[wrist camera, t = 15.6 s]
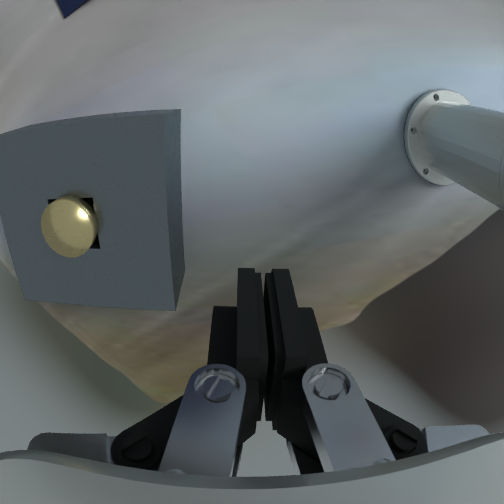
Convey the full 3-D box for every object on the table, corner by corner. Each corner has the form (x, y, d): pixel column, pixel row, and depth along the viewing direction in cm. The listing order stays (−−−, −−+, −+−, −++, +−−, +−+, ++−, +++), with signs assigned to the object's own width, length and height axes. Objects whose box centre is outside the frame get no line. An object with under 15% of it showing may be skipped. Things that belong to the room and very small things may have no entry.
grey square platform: (180, 109, 32) (164, 114, 24) (184, 271, 41) (175, 310, 34) (28, 125, 30) (-11, 137, 23) (51, 266, 40) (25, 299, 32)
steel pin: (120, 172, 34) (87, 199, 26) (124, 220, 37) (97, 258, 29) (76, 174, 34) (36, 201, 25) (82, 220, 37) (47, 256, 28)
